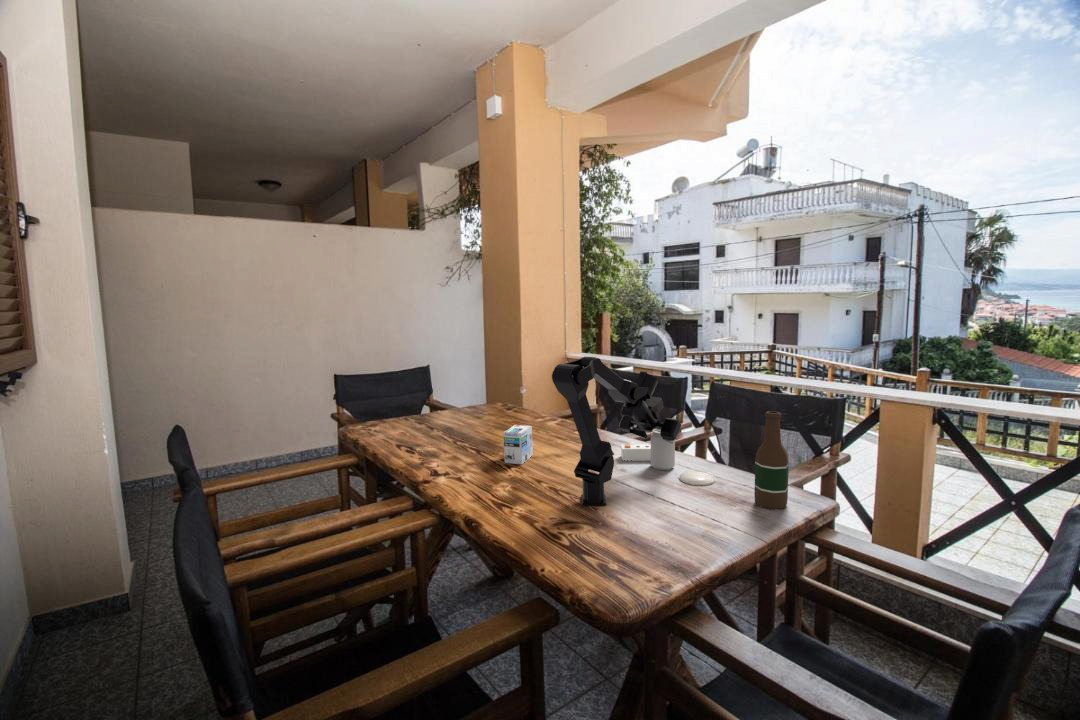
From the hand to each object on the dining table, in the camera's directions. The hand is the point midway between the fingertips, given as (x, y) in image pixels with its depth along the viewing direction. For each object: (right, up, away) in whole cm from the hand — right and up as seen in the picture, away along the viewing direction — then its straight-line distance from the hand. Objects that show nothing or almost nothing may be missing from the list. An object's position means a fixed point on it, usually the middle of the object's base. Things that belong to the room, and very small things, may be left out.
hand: (659, 439), depth 152 cm
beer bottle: (+22, -12, -28) cm, 37 cm away
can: (+2, -9, +3) cm, 10 cm away
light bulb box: (-45, -9, +15) cm, 48 cm away
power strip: (-3, -8, +12) cm, 15 cm away
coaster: (+9, -10, -9) cm, 16 cm away
